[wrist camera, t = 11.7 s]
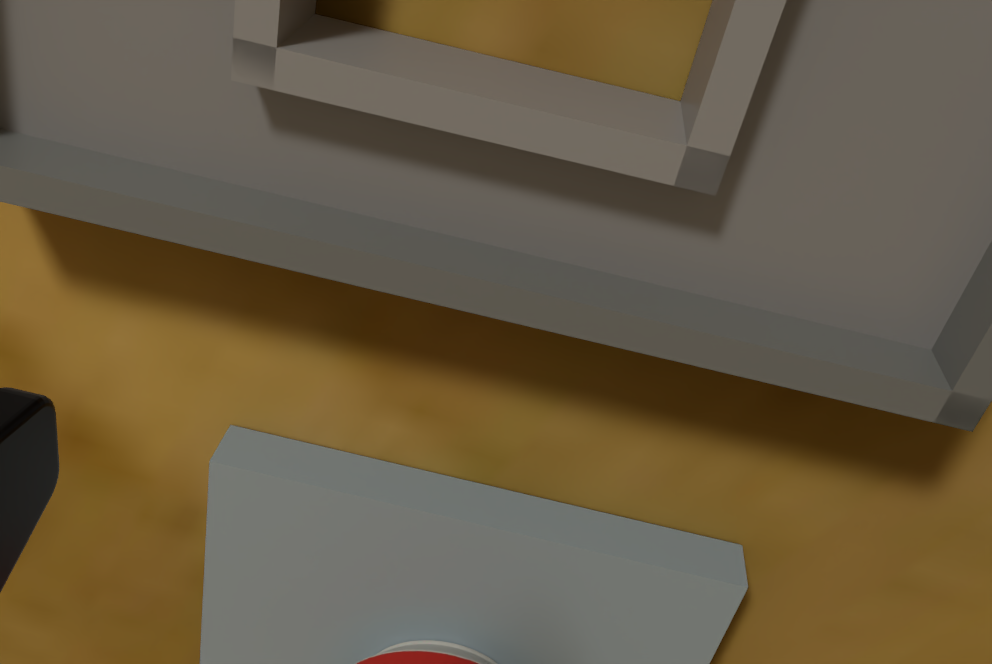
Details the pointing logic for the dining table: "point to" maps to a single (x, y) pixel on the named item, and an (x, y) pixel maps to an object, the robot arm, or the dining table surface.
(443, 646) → the beverage can
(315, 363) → the dining table surface
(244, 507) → the slate board
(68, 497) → the dining table surface
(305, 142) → the grey tray
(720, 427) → the dining table surface
